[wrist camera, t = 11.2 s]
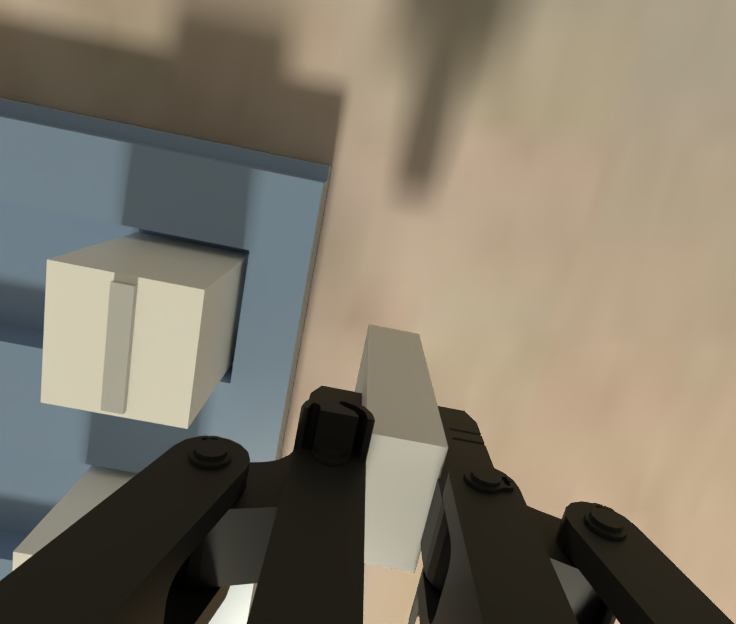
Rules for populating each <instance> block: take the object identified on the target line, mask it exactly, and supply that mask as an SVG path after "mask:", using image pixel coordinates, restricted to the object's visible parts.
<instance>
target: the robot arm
mask: <svg viewBox="0 0 736 624" xmlns="http://www.w3.org/2000/svg"><path fill="white" fill-rule="evenodd" d="M480 435H481V433H480V431H479V428H478V426H477V423H476V422H475V421H474V420H473V419H472V418H471V417H470V416H469V415H468V414H467V413H466V412H465V411H461V410H456V409H451V408H445V407H440V406H437V402H436V398H435V394H434V390H433V387H432V383H431V379H430V375H429V371H428V367H427V363H426V359H425V356H424V352H423V348H422V344H421V340H420V336H419V334H416V333H411V332H406V331H401V330H396V329H391V328H385V327H380V326H375V325H370V324H369V326H368V331H367V336H366V341H365V345H364V350H363V355H362V360H361V364H360V369H359V374H358V379H357V384H356V388H355V392H352V391H347V390H342V389H336V388H331V387H326V386H321V387H319V388H318V389H316V390H315V391H313V392H312V393H311V395H310V398H309V400H307V401H306V402H305V403H304V404H303V405H302V407H301V412H300V418H299V423H298V429H297V434H296V440H295V445H294V450H293V452H292V453H291V454H290V455H288V456H286V457H284V458H282V459H278V460H274V461H267V462H250V457H249V453H248V451H247V450H246V449H245V448H244V447H243V446H242V445H241V444H238V443H236V442H234V441H232V440H230V439H226V438H221V437H219V436H198V437H193V438H188V439H185V440H183V441H181V442H179V443H177V444H175V445H174V446H173V447H171V448H170V449H169V450H167V451H166V452H165V453H164V454H162V455H161V456H160V457H158V458H157V459H156V460H155V461H153V462H152V463H151V464H149V465H148V466H147V467H146V468H144V469H143V470H142V471H140V472H139V473H138V474H137V475H135V476H134V477H133V478H131V479H130V480H129V481H128V482H126V483H125V484H124V485H122V486H121V487H120V488H119V489H117V490H116V491H115V492H113V493H112V494H111V495H110V496H108V497H107V498H106V499H104V500H103V501H102V502H101V503H99V504H98V505H97V506H96V507H94V508H93V509H92V510H90V511H89V512H88V513H87V514H85V515H84V516H83V517H81V518H80V519H79V520H78V521H76V522H75V523H74V524H72V525H71V526H70V527H69V528H67V529H66V530H65V531H63V532H62V533H61V534H60V535H58V536H57V537H56V538H54V539H53V540H52V541H51V542H49V543H48V544H47V545H45V546H44V547H43V548H42V549H40V550H39V551H38V552H36V553H35V554H34V555H33V556H31V557H30V558H29V559H27V560H26V561H25V562H24V563H22V564H21V565H20V566H18V567H17V568H16V569H15V570H13V571H12V572H11V573H9V574H8V575H7V576H6V577H4V578H3V579H2V580H1V581H0V624H208V623H209V622H210V620H211V619H212V617H213V616H214V615H215V613H216V612H217V610H218V609H219V607H220V606H221V604H222V603H223V601H224V600H225V598H226V596H227V594H228V591H229V588H230V586H233V585H243V584H254V583H257V587H256V591H255V595H254V598H253V602H252V606H251V609H250V613H249V617H248V621H247V624H363V594H364V564H368V565H373V566H379V567H385V568H390V569H396V570H402V571H408V572H413V573H415V570H416V566H417V563H418V559H419V555H420V551H421V552H422V560H423V569H422V573H421V577H420V580H419V584H418V588H417V591H416V595H415V599H414V602H413V606H412V610H411V613H410V617H409V623H408V624H415V622H416V618H417V617H418V616H419V618H420V624H614V622H615V620H616V618H617V620H618V621H619V622H620V624H734V623H733V622H732V621H731V620H730V619H729V618H728V617H727V616H726V615H725V614H724V613H723V612H722V611H721V610H720V609H719V608H718V607H717V606H716V605H715V604H714V603H713V602H712V601H711V600H710V599H709V598H708V597H707V596H706V595H705V594H704V593H703V592H702V591H701V590H700V589H699V588H698V587H697V586H696V585H695V584H694V583H693V582H692V581H691V580H690V579H689V578H688V577H687V576H686V575H685V574H684V573H683V572H682V571H681V570H680V569H679V568H678V567H677V566H676V565H675V564H674V563H673V562H672V561H671V560H670V559H669V558H668V557H667V556H666V555H665V554H664V553H663V552H662V551H660V550H659V549H658V548H657V547H656V546H655V545H654V544H653V543H652V542H651V541H650V540H649V539H648V538H647V537H646V536H645V535H644V534H643V533H642V532H641V531H640V530H639V529H638V528H637V527H636V526H635V525H634V524H633V523H631V522H630V521H629V520H628V519H626V518H625V517H624V516H622V515H620V514H618V513H617V512H615V511H614V510H613V509H611V508H609V507H606V506H604V507H603V506H602V505H600V504H597V503H588V502H574V503H571V504H570V505H568V506H567V507H566V509H565V512H564V514H563V517H562V519H560V518H557V517H554V516H552V515H549V514H546V513H544V512H541V511H538V510H536V509H534V508H531V507H529V506H527V505H526V503H525V500H524V498H523V496H522V493H521V491H520V489H519V487H518V486H517V485H516V483H515V482H514V481H513V480H512V479H511V478H510V477H508V476H507V475H506V474H504V473H503V472H501V471H499V470H497V469H495V468H494V467H493V464H492V462H491V459H490V456H489V454H488V451H487V449H486V446H485V445H484V441H483V438H482V436H480Z"/></svg>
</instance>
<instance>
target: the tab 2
mask: <svg viewBox="0 0 736 624" xmlns="http://www.w3.org/2000/svg"><path fill="white" fill-rule="evenodd" d="M248 257H249V254H245V253H240V252H235V251H230V250H225V249H220V248H215V247H210V246H205V245H200V244H194V243H189V242H184V241H179V240H174V239H169V238H164V237H159V236H154V235H149V234H144V233H139V232H135V233H132V234H129V235H125V236H122V237H119V238H115V239H112V240H109V241H106V242H102V243H99V244H96V245H93V246H89V247H86V248H83V249H79V250H76V251H73V252H70V253H66V254H63V255H60V256H57V257H53V258H50V259H47V268H46V291H45V313H44V336H43V359H42V381H41V403H46V404H52V405H57V406H63V407H68V408H74V409H80V410H85V411H91V412H96V413H102V414H107V415H113V416H118V417H124V418H129V419H135V420H141V421H146V422H152V423H157V424H163V425H168V426H174V427H179V428H185V429H188V427H189V426H190V425H191V423H192V422H193V420H194V419H195V417H196V416H197V414H198V413H199V411H200V410H201V408H202V407H203V405H204V404H205V402H206V401H207V400H208V398H209V397H210V395H211V394H212V392H213V391H214V389H215V388H216V386H217V385H218V383H219V382H220V380H221V379H222V378H223V376H224V375H225V373H226V372H227V370H228V369H229V367H230V366H231V364H232V363H233V361H234V355H235V348H236V341H237V334H238V327H239V320H240V313H241V306H242V299H243V292H244V285H245V278H246V271H247V264H248Z"/></svg>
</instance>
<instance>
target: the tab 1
mask: <svg viewBox="0 0 736 624" xmlns="http://www.w3.org/2000/svg"><path fill="white" fill-rule="evenodd" d="M137 474H138V473H134V472H129V471H123V470H117V469H111V468H106V467H100V466H94V465H92V466H91V467H90V468H89V469H88V470H87V471H86V472H85V473H84V475H83V476H82V477H81V478H80V479H79V480H78V481H77V482H76V483H75V484H74V486H73V487H72V488H71V489H70V490H69V491H68V492H67V493H66V494H65V495H64V496H63V498H62V499H61V500H60V501H59V502H58V503H57V504H56V505H55V506H54V507H53V509H52V510H51V511H50V512H49V513H48V514H47V515H46V516H45V517H44V518H43V519H42V521H41V522H40V523H39V524H38V525H37V526H36V527H35V528H34V529H33V530H32V532H31V533H30V534H29V535H28V536H27V537H26V538H25V539H24V540H23V541H22V542H21V544H20V545H19V546H18V547H17V548H16V549H15V550H14V551H13V568H12V571H13V570H15V569H16V568H17V567H18V566H20V565H21V564H22V563H24V562H25V561H26V560H27V559H29V558H30V557H31V556H33V555H34V554H35V553H36V552H38V551H39V550H40V549H42V548H43V547H44V546H45V545H47V544H48V543H49V542H51V541H52V540H53V539H54V538H56V537H57V536H58V535H60V534H61V533H62V532H63V531H65V530H66V529H67V528H69V527H70V526H71V525H72V524H74V523H75V522H76V521H78V520H79V519H80V518H81V517H83V516H84V515H85V514H87V513H88V512H89V511H90V510H92V509H93V508H94V507H96V506H97V505H98V504H99V503H101V502H102V501H103V500H104V499H106V498H107V497H108V496H110V495H111V494H112V493H113V492H115V491H116V490H117V489H119V488H120V487H121V486H122V485H124V484H125V483H126V482H128V481H129V480H130V479H131V478H133V477H134V476H135V475H137Z"/></svg>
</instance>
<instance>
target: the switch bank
mask: <svg viewBox="0 0 736 624" xmlns="http://www.w3.org/2000/svg"><path fill="white" fill-rule="evenodd" d="M331 168H332V166H329V165H325V164H320V163H315V162H310V161H305V160H300V159H296V158H291V157H286V156H281V155H276V154H271V153H266V152H262V151H257V150H252V149H247V148H242V147H237V146H233V145H228V144H223V143H218V142H213V141H208V140H204V139H199V138H194V137H189V136H184V135H179V134H174V133H170V132H165V131H160V130H155V129H150V128H145V127H141V126H136V125H131V124H126V123H121V122H116V121H112V120H107V119H102V118H97V117H92V116H87V115H82V114H78V113H73V112H68V111H63V110H58V109H53V108H49V107H44V106H39V105H34V104H29V103H24V102H20V101H15V100H10V99H5V98H0V581H1V580H2V579H3V578H4V577H6V576H7V575H8V574H9V573H11V572H12V568H13V551H14V550H15V549H16V548H17V547H18V546H19V545H20V544H21V542H22V541H23V540H24V539H25V538H26V537H27V536H28V535H29V534H30V533H31V532H32V530H33V529H34V528H35V527H36V526H37V525H38V524H39V523H40V522H41V521H42V519H43V518H44V517H45V516H46V515H47V514H48V513H49V512H50V511H51V510H52V509H53V507H54V506H55V505H56V504H57V503H58V502H59V501H60V500H61V499H62V498H63V496H64V495H65V494H66V493H67V492H68V491H69V490H70V489H71V488H72V487H73V486H74V484H75V483H76V482H77V481H78V480H79V479H80V478H81V477H82V476H83V475H84V473H85V472H86V471H87V470H88V469H89V468H90V467H91V466H92V465H94V466H100V467H106V468H111V469H117V470H123V471H129V472H134V473H139V472H140V471H142V470H143V469H144V468H146V467H147V466H148V465H149V464H151V463H152V462H153V461H155V460H156V459H157V458H158V457H160V456H161V455H162V454H164V453H165V452H166V451H167V450H169V449H170V448H171V447H173V446H174V445H175V444H177V443H179V442H181V441H183V440H185V439H188V438H193V437H198V436H219V437H221V438H226V439H230V440H232V441H234V442H236V443H238V444H241V445H242V446H243V447H244V448H245V449H246V450H247V451H248V453H249V457H250V462H267V461H274V460H278V459H280V457H281V452H282V446H283V440H284V435H285V429H286V423H287V418H288V412H289V406H290V401H291V395H292V389H293V384H294V378H295V372H296V367H297V361H298V355H299V350H300V344H301V338H302V333H303V327H304V321H305V316H306V310H307V304H308V299H309V293H310V287H311V282H312V276H313V270H314V265H315V259H316V253H317V248H318V242H319V236H320V231H321V225H322V219H323V214H324V208H325V202H326V197H327V191H328V185H329V180H330V174H331ZM135 232H139V233H144V234H149V235H154V236H159V237H164V238H169V239H174V240H179V241H184V242H189V243H194V244H200V245H205V246H210V247H215V248H220V249H225V250H230V251H235V252H240V253H245V254H249V257H248V264H247V271H246V278H245V285H244V292H243V299H242V306H241V313H240V320H239V327H238V334H237V341H236V348H235V355H234V361H233V363H232V364H231V366H230V367H229V369H228V370H227V372H226V373H225V375H224V376H223V378H222V379H221V380H220V382H219V383H218V385H217V386H216V388H215V389H214V391H213V392H212V394H211V395H210V397H209V398H208V400H207V401H206V402H205V404H204V405H203V407H202V408H201V410H200V411H199V413H198V414H197V416H196V417H195V419H194V420H193V422H192V423H191V425H190V426H189V427H188V429H185V428H179V427H174V426H168V425H163V424H157V423H152V422H146V421H141V420H135V419H129V418H124V417H118V416H113V415H107V414H102V413H96V412H91V411H85V410H80V409H74V408H68V407H63V406H57V405H52V404H46V403H41V381H42V359H43V336H44V313H45V291H46V268H47V259H50V258H53V257H57V256H60V255H63V254H66V253H70V252H73V251H76V250H79V249H83V248H86V247H89V246H93V245H96V244H99V243H102V242H106V241H109V240H112V239H115V238H119V237H122V236H125V235H129V234H132V233H135ZM256 587H257V583H254V584H243V585H233V586H230V588H229V591H228V594H227V596H226V598H225V600H224V601H223V603H222V604H221V606H220V607H219V609H218V610H217V612H216V613H215V615H214V616H213V617H212V619H211V620H210V622H209V623H208V624H247V621H248V617H249V613H250V609H251V606H252V602H253V598H254V595H255V591H256Z"/></svg>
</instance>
